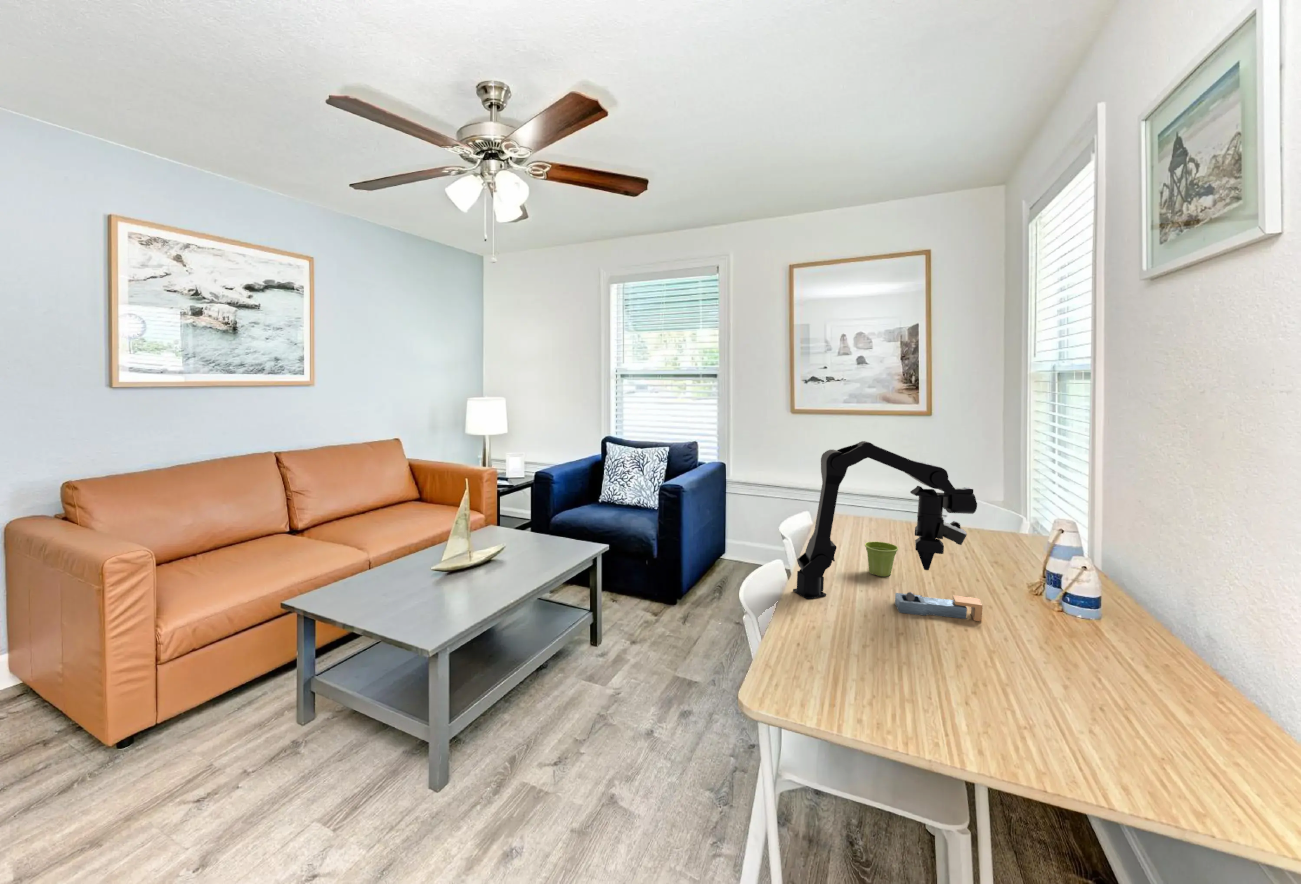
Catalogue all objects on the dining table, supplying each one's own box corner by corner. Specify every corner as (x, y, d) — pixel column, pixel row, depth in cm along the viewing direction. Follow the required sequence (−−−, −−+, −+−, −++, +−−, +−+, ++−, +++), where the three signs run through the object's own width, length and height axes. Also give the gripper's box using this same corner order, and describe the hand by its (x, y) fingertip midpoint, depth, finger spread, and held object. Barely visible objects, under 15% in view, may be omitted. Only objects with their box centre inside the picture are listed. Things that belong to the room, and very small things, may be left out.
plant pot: (902, 579, 154) (904, 550, 153) (870, 578, 154) (871, 550, 154) (888, 568, 163) (890, 541, 163) (858, 568, 164) (859, 541, 163)
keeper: (954, 617, 128) (955, 601, 128) (951, 610, 132) (952, 595, 132) (981, 621, 126) (982, 605, 125) (977, 614, 130) (978, 598, 130)
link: (899, 612, 131) (899, 601, 130) (894, 603, 137) (895, 592, 136) (967, 620, 126) (968, 609, 126) (959, 610, 132) (960, 599, 132)
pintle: (910, 609, 132) (910, 594, 132) (903, 606, 134) (904, 591, 134) (915, 608, 133) (916, 593, 133) (909, 605, 135) (910, 590, 135)
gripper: (969, 524, 125) (964, 586, 127) (962, 508, 142) (958, 564, 143) (917, 518, 130) (913, 579, 132) (916, 504, 147) (913, 558, 148)
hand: (926, 569), depth 139 cm, fingers closed
